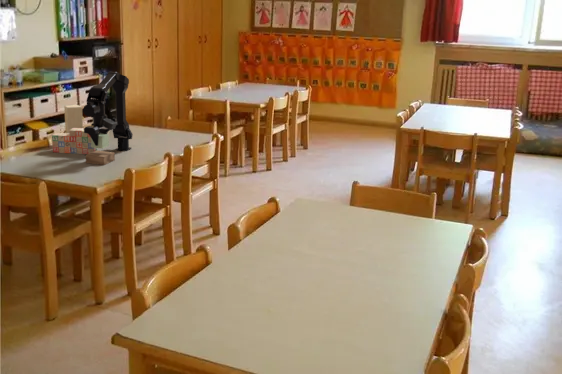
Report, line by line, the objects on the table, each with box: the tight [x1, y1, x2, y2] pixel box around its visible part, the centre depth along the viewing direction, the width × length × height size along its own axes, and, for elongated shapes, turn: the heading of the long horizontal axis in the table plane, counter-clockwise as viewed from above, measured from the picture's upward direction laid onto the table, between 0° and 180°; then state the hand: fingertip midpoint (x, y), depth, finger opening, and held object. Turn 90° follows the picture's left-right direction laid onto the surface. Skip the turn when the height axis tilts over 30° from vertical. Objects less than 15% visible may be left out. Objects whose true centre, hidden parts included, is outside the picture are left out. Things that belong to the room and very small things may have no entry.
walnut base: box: [85, 149, 116, 166], centre depth 300 cm, size 10×10×4 cm
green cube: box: [91, 133, 110, 149], centre depth 297 cm, size 6×6×6 cm
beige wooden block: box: [63, 104, 84, 133], centre depth 328 cm, size 8×7×21 cm
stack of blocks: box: [51, 127, 98, 155], centre depth 314 cm, size 21×6×12 cm, turn 92°
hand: (100, 144), depth 298 cm, fingers closed on green cube, 6 cm apart
